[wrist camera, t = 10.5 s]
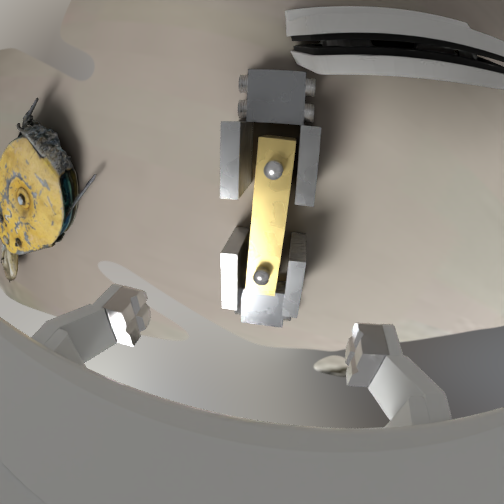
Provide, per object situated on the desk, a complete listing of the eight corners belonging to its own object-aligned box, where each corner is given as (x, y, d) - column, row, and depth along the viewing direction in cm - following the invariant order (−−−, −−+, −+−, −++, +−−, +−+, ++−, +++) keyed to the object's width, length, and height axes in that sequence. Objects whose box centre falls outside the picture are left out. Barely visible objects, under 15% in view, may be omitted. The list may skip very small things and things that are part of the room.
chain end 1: (318, 78, 17) (324, 64, 12) (310, 188, 21) (313, 206, 17) (240, 73, 18) (223, 61, 13) (236, 181, 22) (219, 198, 17)
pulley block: (-28, 247, 26) (12, 98, 14) (-8, 229, 30) (49, 89, 19) (20, 305, 32) (86, 194, 20) (37, 283, 36) (117, 172, 25)
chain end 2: (305, 233, 23) (306, 262, 18) (293, 315, 27) (290, 351, 23) (235, 226, 24) (220, 253, 19) (235, 308, 28) (223, 341, 23)
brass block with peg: (296, 138, 20) (296, 142, 15) (278, 270, 25) (273, 302, 21) (265, 134, 20) (256, 137, 16) (253, 266, 25) (243, 297, 21)
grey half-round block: (459, 21, 11) (534, 40, 4) (463, 66, 14) (534, 102, 7) (279, 12, 15) (280, -4, 8) (292, 62, 18) (302, 82, 11)
